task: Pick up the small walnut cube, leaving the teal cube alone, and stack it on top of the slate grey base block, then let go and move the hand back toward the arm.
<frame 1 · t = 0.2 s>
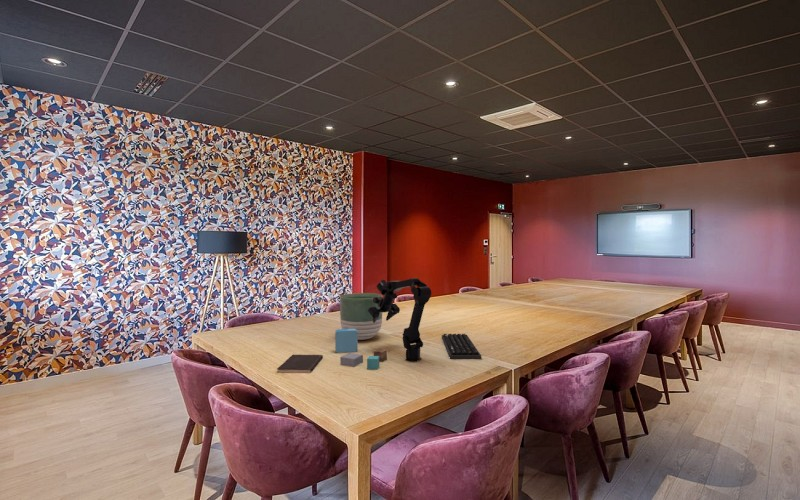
hand: (380, 321, 222), 15 cm above the table, tool tilted 30°, fingers open, 9 cm apart
walnut cube: (380, 360, 197), on the table
planter: (361, 338, 242), on the table
slate base block: (351, 363, 192), on the table
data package: (346, 351, 214), on the table
teal cube: (373, 367, 185), on the table
computer keyboard: (459, 349, 220), on the table
hardcover book: (301, 366, 190), on the table
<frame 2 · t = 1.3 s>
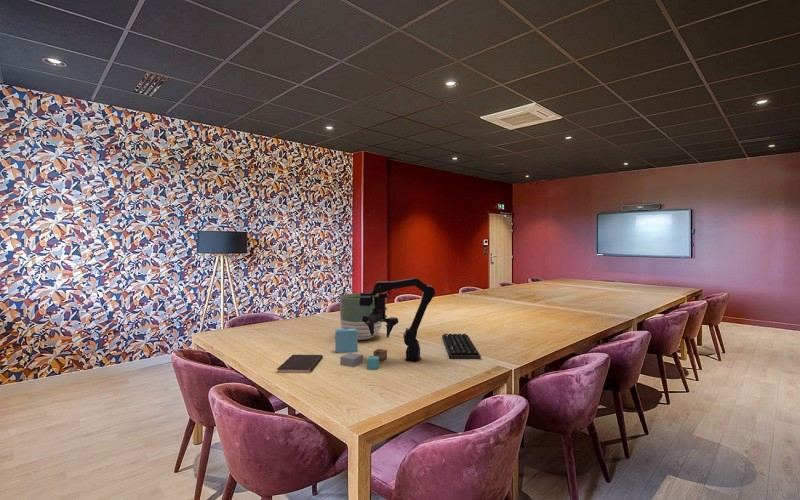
hand: (379, 336, 197), 12 cm above the table, tool pointing down, fingers open, 9 cm apart
nothing on the table moved.
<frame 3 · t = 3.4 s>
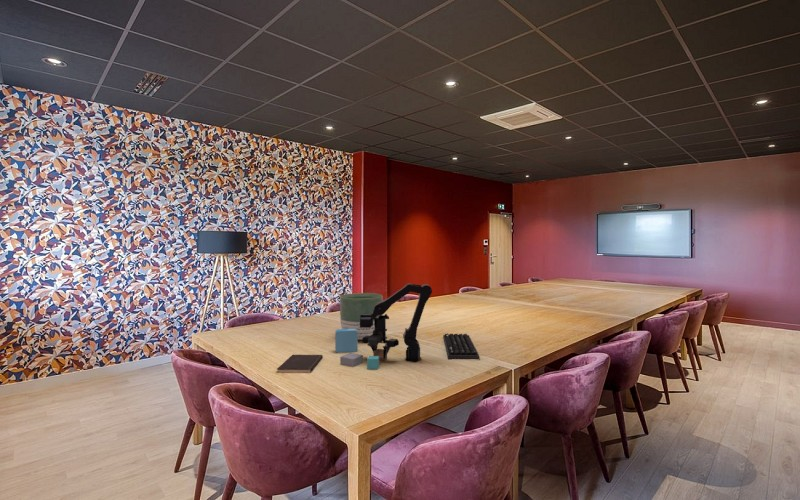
hand: (380, 358, 197), 1 cm above the table, tool pointing down, fingers closed on walnut cube, 5 cm apart
walnut cube: (380, 360, 197), on the table, touching gripper
everything else where it was.
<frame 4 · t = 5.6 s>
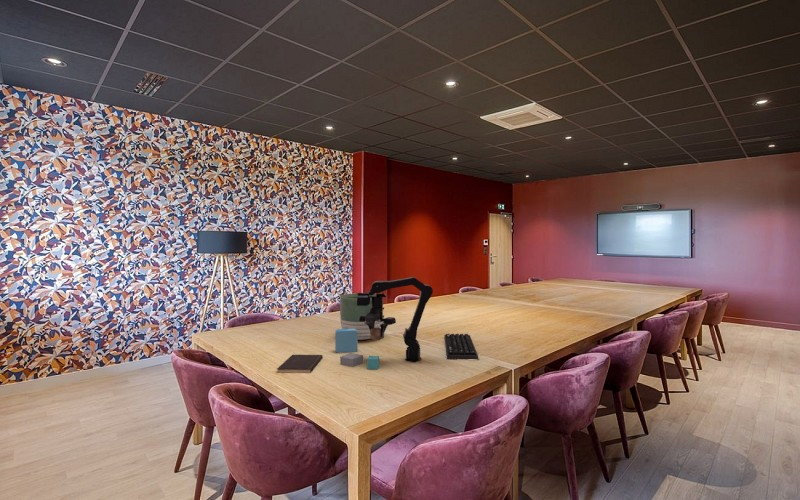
hand: (377, 336, 196), 12 cm above the table, tool pointing down, fingers closed on walnut cube, 5 cm apart
walnut cube: (377, 338, 196), point 11 cm above the table, touching gripper
everything else where it was.
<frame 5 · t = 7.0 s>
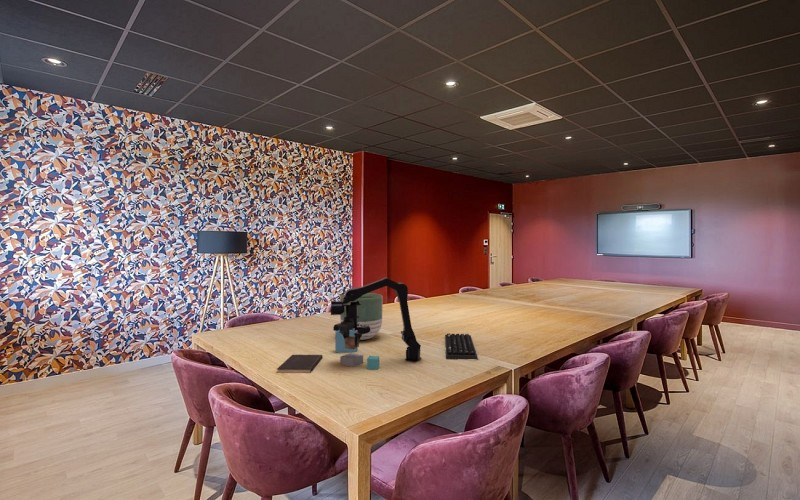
hand: (351, 345, 192), 9 cm above the table, tool pointing down, fingers closed on walnut cube, 5 cm apart
walnut cube: (351, 347, 192), point 8 cm above the table, touching gripper
when the fingers open (6 cm above the table, at t = 8.2 s): walnut cube drops 2 cm, resting on slate base block.
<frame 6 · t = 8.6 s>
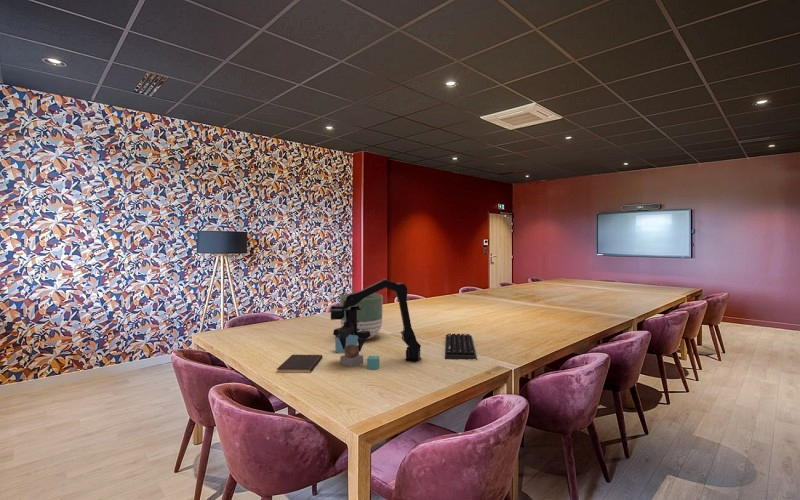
hand: (351, 350, 192), 6 cm above the table, tool pointing down, fingers open, 9 cm apart
walnut cube: (351, 356, 192), point 4 cm above the table, touching slate base block
slate base block: (351, 364, 192), on the table, touching walnut cube
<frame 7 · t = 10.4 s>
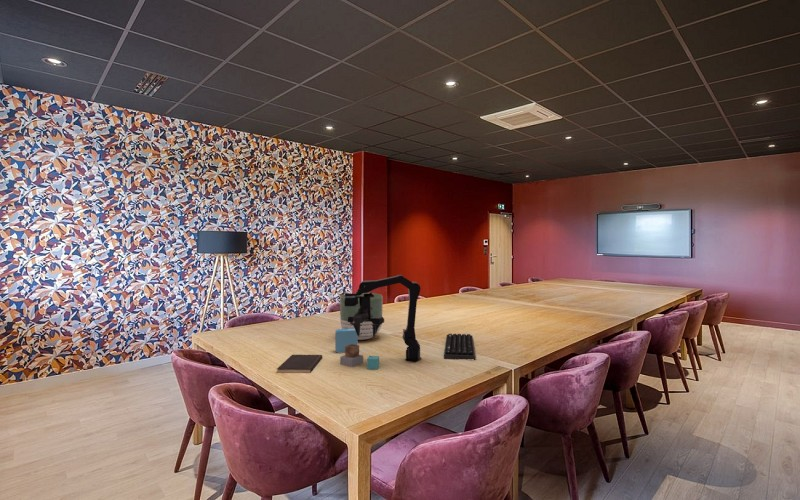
hand: (366, 336, 195), 12 cm above the table, tool pointing down, fingers open, 9 cm apart
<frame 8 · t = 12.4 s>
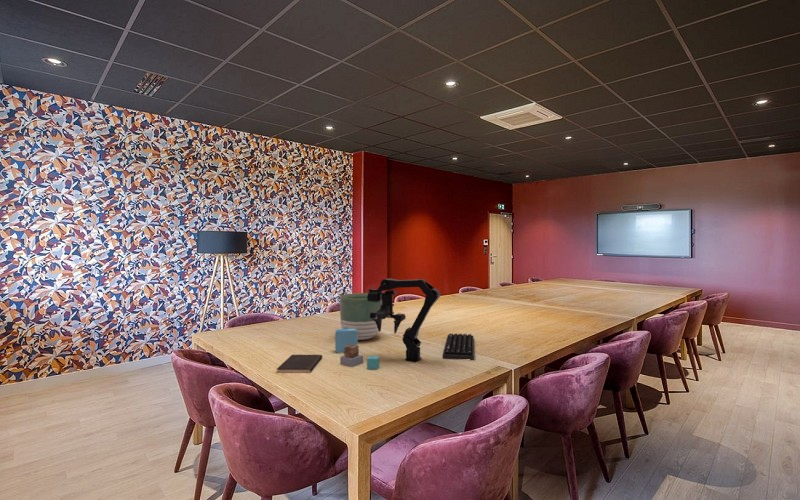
hand: (387, 332, 202), 13 cm above the table, tool pointing down, fingers open, 9 cm apart
walnut cube: (351, 356, 192), point 4 cm above the table
slate base block: (351, 364, 192), on the table
at the end: walnut cube 0.2 cm off-centre on the slate base block, point 4.0 cm above the slate base block's base; walnut cube tilted 0°; the gripper is holding nothing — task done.
